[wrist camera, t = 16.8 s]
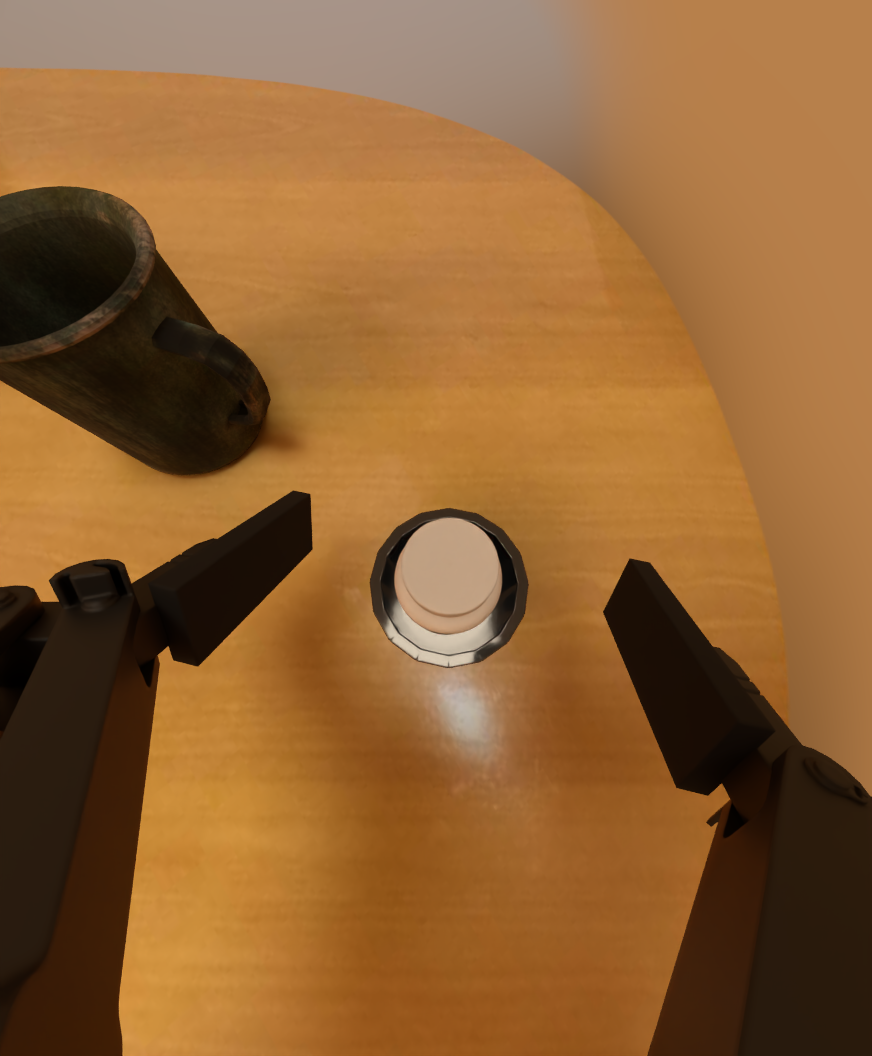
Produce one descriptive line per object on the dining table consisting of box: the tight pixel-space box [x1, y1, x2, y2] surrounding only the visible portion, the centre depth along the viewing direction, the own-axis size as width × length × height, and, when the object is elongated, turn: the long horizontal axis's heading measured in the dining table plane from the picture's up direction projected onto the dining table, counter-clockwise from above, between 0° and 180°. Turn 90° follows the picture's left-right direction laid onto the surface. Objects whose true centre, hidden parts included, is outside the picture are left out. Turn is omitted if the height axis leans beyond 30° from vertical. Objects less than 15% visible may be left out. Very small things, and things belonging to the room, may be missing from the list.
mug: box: [0, 186, 270, 475], centre depth 21 cm, size 11×15×12 cm
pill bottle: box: [394, 518, 502, 635], centre depth 17 cm, size 5×5×9 cm
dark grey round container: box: [370, 508, 529, 668], centre depth 20 cm, size 8×8×5 cm
